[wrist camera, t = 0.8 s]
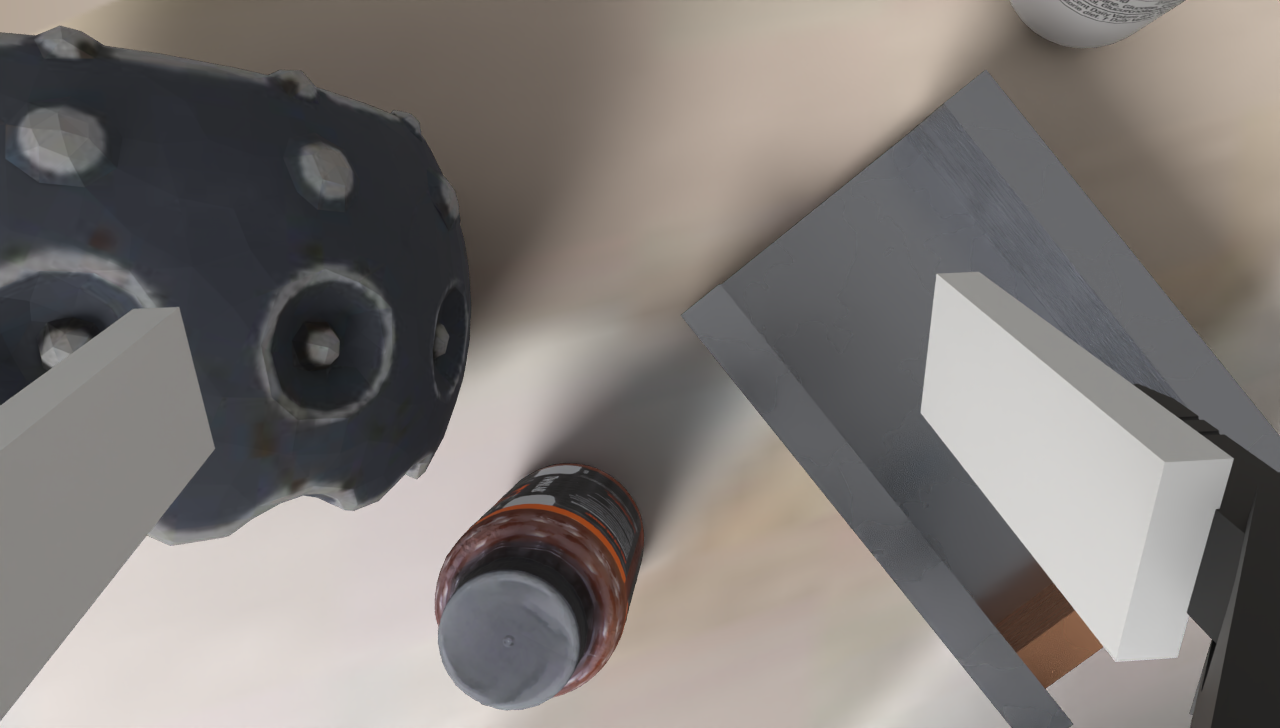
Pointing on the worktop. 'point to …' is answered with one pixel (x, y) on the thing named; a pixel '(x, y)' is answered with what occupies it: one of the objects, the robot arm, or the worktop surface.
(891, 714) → the worktop surface
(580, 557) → the supplement bottle
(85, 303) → the black thick disc
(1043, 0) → the energy drink can
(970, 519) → the channel
